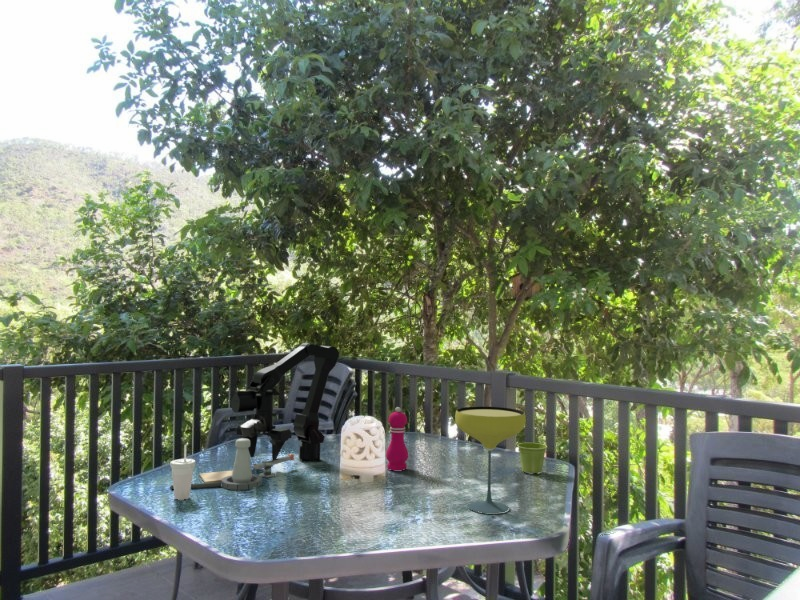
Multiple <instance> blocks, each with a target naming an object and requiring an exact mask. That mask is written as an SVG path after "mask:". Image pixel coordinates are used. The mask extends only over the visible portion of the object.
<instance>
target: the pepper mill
mask: <svg viewBox="0 0 800 600" xmlns="http://www.w3.org/2000/svg"><path fill="white" fill-rule="evenodd" d="M388 423H389V425H390V427H389V432H390V433H391V440H390V443H389V444H388V447H387V449H386V453H385V459H386V460H387V461H388V462H387V465H386V468H388V469H391V470H403V469H406V468H407V466H408V464H407V463H406V462H407V461H408V459H409V451H408V448H407V446H406V444H405V439H404V436H405V432H406V427H405V425H407V423H408V417H407V415H406V414H405V413H404V412H402V409H401V407H399V406H396V407H395V409H394V412H392V413H391V414H389V416H388ZM388 469H387V470H388ZM406 470H407V469H406Z"/></svg>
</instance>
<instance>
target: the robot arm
mask: <svg viewBox="0 0 800 600" xmlns="http://www.w3.org/2000/svg"><path fill="white" fill-rule="evenodd" d="M308 357H312V358H314V359H313V361H314V368H315V370H314V374H313V377H312V381H311V384H310V387H309V392H308V394H307V398H306V401H305V405H304V407H303V408H304V409H303V410H302V412H301V413H296V414H295V417H294V422H293V424H292V426H293V428H292V429H293V432H294V434H295V435H296V437H297V441H300V445H299V446H298V458H299V460H300V461H301V462H302V463H309V462H321V461H322V459H321V444H322V443H324V441H325V435H324V434H323V433H322V432H321V431H320V429H319V427H320V418H319V410H320V406H321V404H322V401H323V396H324V392H325V389H326V385H327V382H328V378H329V375H330V373H331V372H332V370H333V369H335V367H336V366H337V365H336V364H337V362H338V360H339V359H340V352H339V350H338V349H337V347H336V346H332V345H331V346H330V345H317V344H313V343H311V342H302V343H301V344H300V345H299V346H298V347H296V348H295V349H294V350H292V351H291V352H290V353H288V354H287V355H286V356H284V357H283V358H281V359H280V360H279V361H277V362H276V363H274V364H272V365H269V366H265V367H264V368H262V369H259V370H257V371H256V372H254V374H253V378H252V380H251V382H249V385H248V386H247V388H246V389H245V390H237V389H236V390H234V395H232V398H231V401H230V406H231V409H232V411H233V413H235V414H237V413H248V412H253V411H254V413H252V414H251V418H250V420H247V421H246V422H244V423H242V424H240V425H238V426H237V428H236V435H238V436H239V438H240V439H242V438H246V439H249V440H250V447H248V449H249V456H250V458H254V457H255V453H256V449H257V448H256V447H257V442H258V436H259V435H263V436H268V437H269V438H271V440H269V443H270V444H271V458H272V459H271V460H274V459H278V457H279V455H280V452H281V450H282V448H283V447H284V445H285V443H286V442H287V441H289V439H292V430H291V429H290V428H284V427H281V428H277V427H276V425H274V417H276V416H277V413H276V412H274V396H275V397H276V396H280V395H281V394H280V392H279V391H277V389H276V386H277V385H278V384H279V383H280V382H281V380H282V378H283V376H285V375H286V374H287V373H288V372H289V371H291V370H292V369H293V368H295V367H296V366H297V365H299V364H300V363H302V362H303V361H304V360H306V359H307V358H308Z"/></svg>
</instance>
